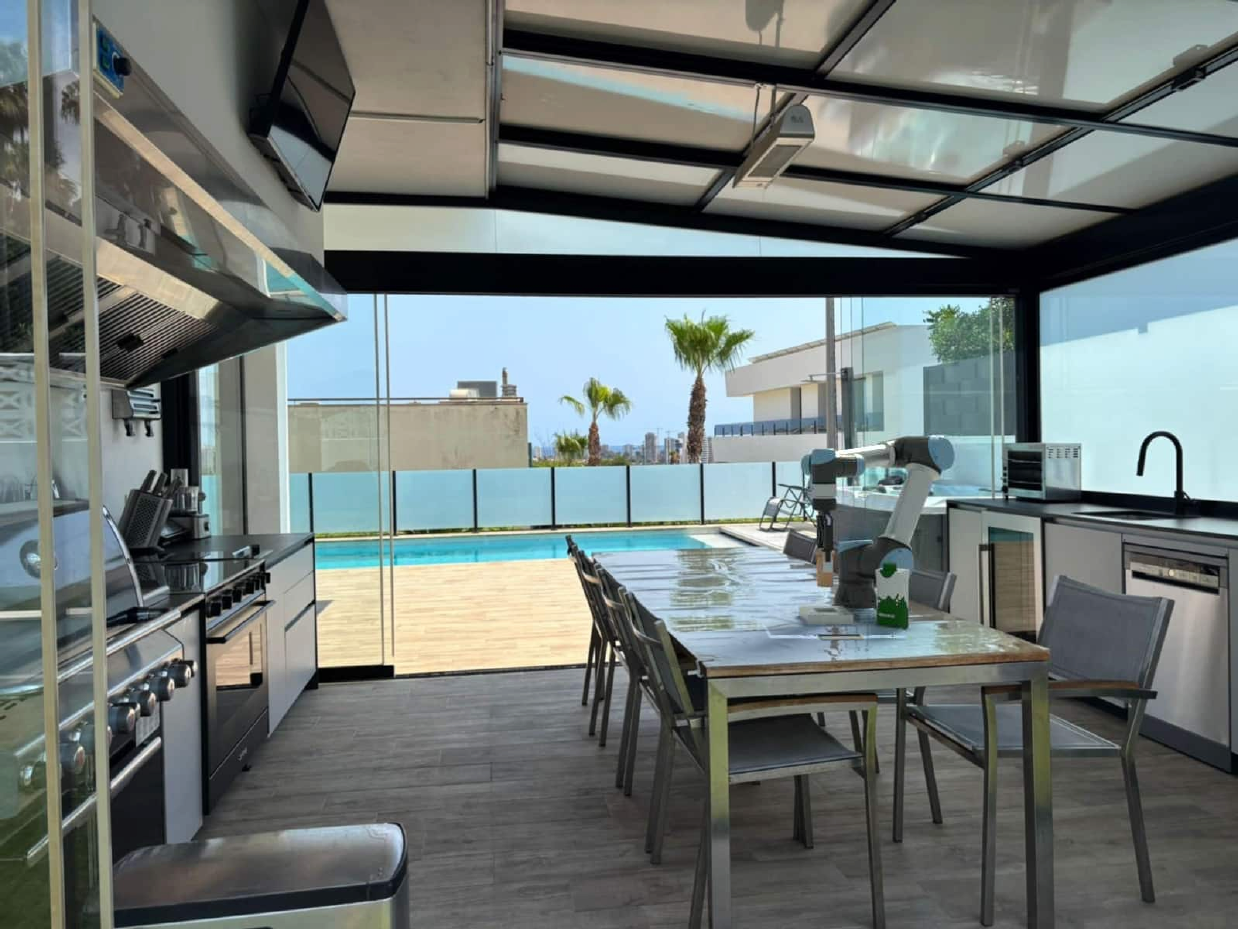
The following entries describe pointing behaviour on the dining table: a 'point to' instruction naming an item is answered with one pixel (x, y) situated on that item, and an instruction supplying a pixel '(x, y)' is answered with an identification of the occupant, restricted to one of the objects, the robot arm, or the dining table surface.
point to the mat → (840, 637)
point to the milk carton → (892, 596)
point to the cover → (822, 578)
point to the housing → (826, 615)
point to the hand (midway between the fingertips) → (825, 570)
